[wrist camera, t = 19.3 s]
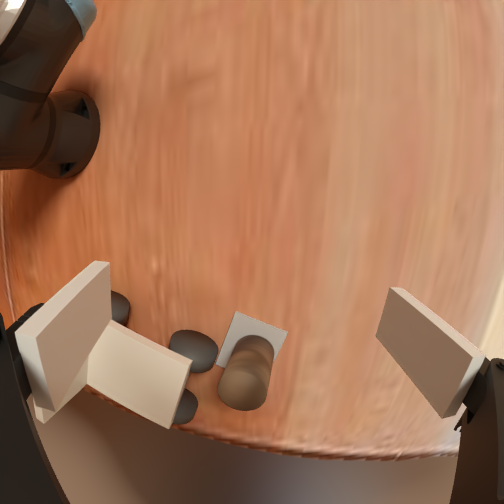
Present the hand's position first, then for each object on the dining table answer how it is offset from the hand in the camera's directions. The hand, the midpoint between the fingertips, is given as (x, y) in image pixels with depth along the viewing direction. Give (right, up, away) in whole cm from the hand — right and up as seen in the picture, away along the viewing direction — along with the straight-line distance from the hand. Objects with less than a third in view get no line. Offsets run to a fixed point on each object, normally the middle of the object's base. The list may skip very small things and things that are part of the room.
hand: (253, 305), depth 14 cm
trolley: (-17, -14, +35) cm, 42 cm away
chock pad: (0, -12, +32) cm, 34 cm away
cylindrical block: (0, -12, +32) cm, 34 cm away
